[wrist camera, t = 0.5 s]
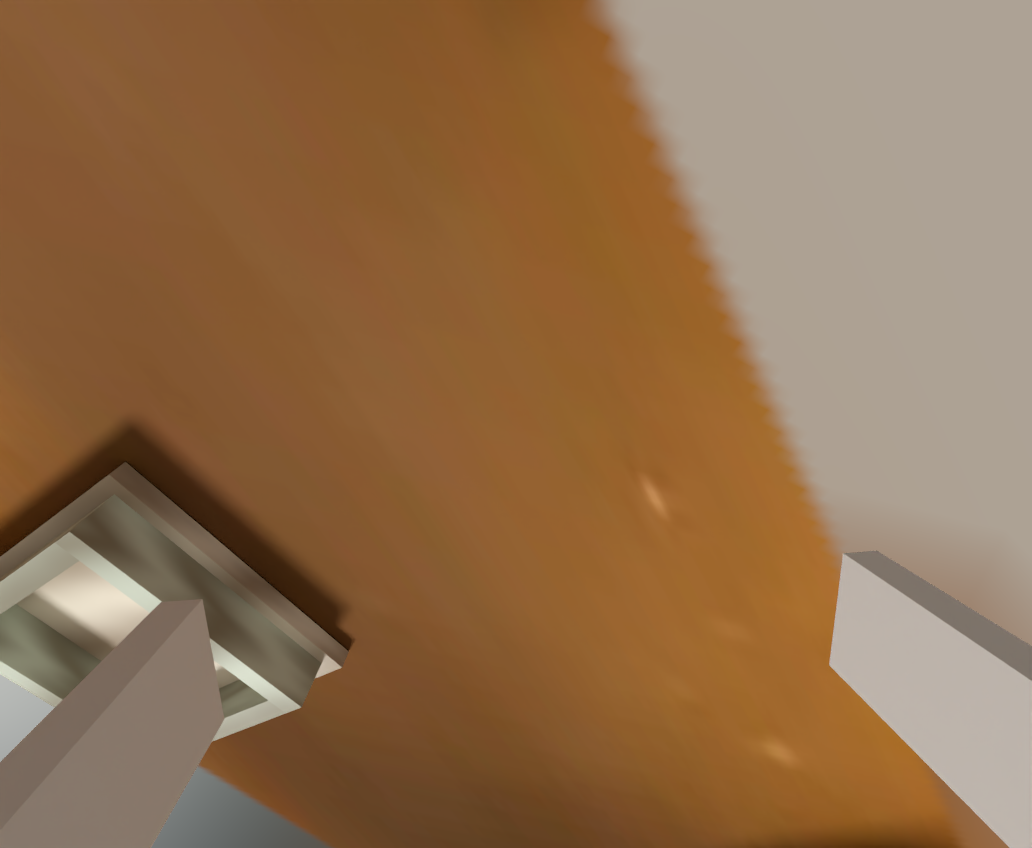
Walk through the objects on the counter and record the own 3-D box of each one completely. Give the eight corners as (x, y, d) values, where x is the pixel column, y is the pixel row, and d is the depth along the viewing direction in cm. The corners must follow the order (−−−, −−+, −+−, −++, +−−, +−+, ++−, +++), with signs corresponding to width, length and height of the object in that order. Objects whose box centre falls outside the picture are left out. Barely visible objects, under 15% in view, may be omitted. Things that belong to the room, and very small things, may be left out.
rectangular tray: (-25, 575, 30) (-92, 627, 27) (125, 461, 25) (62, 511, 22) (188, 718, 35) (152, 774, 32) (348, 651, 30) (323, 711, 27)
